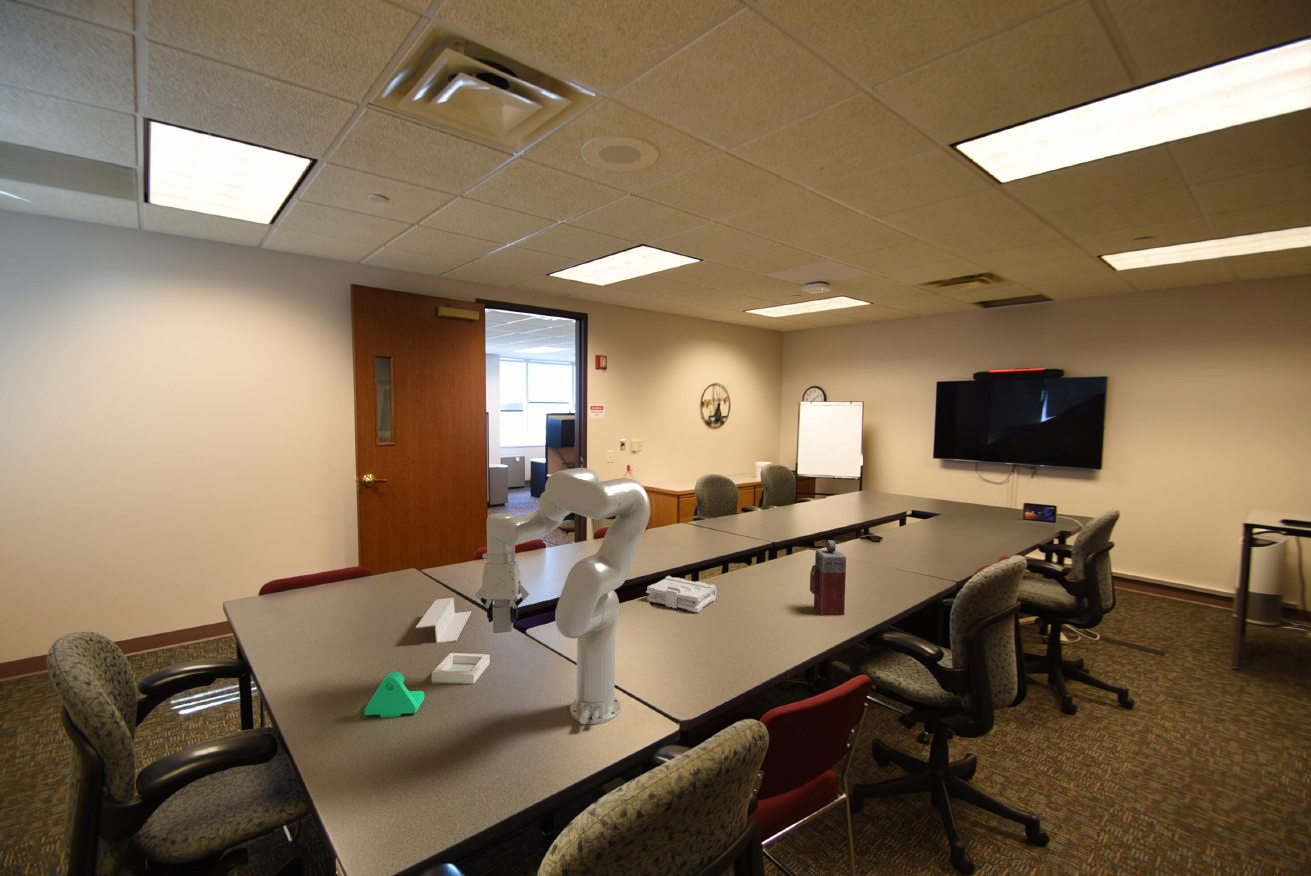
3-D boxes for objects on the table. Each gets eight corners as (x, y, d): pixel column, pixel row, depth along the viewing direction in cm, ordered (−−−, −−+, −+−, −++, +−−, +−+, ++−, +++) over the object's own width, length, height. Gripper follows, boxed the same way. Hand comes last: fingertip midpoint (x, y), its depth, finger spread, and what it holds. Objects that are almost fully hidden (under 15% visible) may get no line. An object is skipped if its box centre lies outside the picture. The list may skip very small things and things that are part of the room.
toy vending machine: (807, 607, 210) (809, 537, 208) (836, 608, 210) (838, 537, 208) (814, 616, 201) (817, 543, 199) (844, 616, 201) (847, 543, 199)
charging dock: (473, 684, 148) (473, 674, 148) (431, 682, 149) (431, 672, 149) (489, 664, 160) (489, 654, 160) (450, 662, 161) (450, 652, 161)
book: (659, 586, 233) (659, 569, 233) (718, 599, 219) (718, 581, 218) (635, 600, 216) (635, 581, 216) (697, 614, 202) (697, 595, 202)
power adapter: (513, 631, 151) (512, 589, 151) (493, 633, 149) (492, 591, 149) (512, 627, 154) (511, 585, 154) (492, 629, 152) (492, 587, 152)
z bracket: (417, 645, 173) (415, 627, 173) (437, 616, 198) (435, 599, 198) (456, 640, 175) (454, 622, 175) (471, 612, 200) (469, 595, 199)
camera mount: (425, 700, 140) (425, 662, 140) (415, 717, 133) (415, 676, 132) (377, 702, 139) (377, 663, 139) (364, 719, 132) (364, 678, 131)
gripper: (466, 560, 148) (467, 625, 148) (527, 561, 147) (528, 626, 147) (476, 553, 155) (478, 615, 156) (535, 554, 154) (536, 616, 155)
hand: (502, 619), depth 152 cm, fingers closed on power adapter, 5 cm apart
